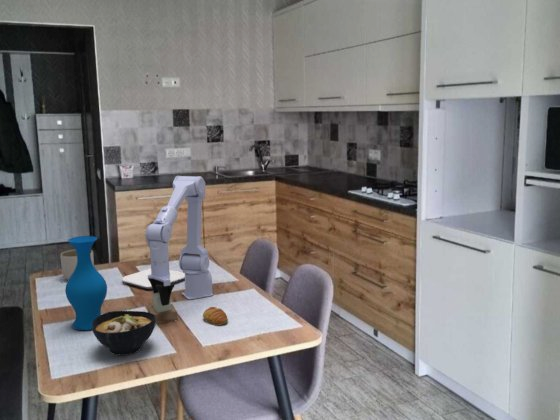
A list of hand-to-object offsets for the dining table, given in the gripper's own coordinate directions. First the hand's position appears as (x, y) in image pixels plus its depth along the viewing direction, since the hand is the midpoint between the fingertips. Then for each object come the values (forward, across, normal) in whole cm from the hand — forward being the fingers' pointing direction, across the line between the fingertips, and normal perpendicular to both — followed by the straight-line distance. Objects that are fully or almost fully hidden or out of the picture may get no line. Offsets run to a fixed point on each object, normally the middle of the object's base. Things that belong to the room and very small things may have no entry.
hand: (161, 301), depth 176 cm
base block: (+6, 0, 0) cm, 6 cm away
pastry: (+6, +10, +14) cm, 19 cm away
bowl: (+6, +18, -16) cm, 25 cm away
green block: (+3, 0, 0) cm, 3 cm away
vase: (+6, -6, -22) cm, 24 cm away
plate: (+6, -41, +9) cm, 42 cm away
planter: (+6, -60, -17) cm, 63 cm away
